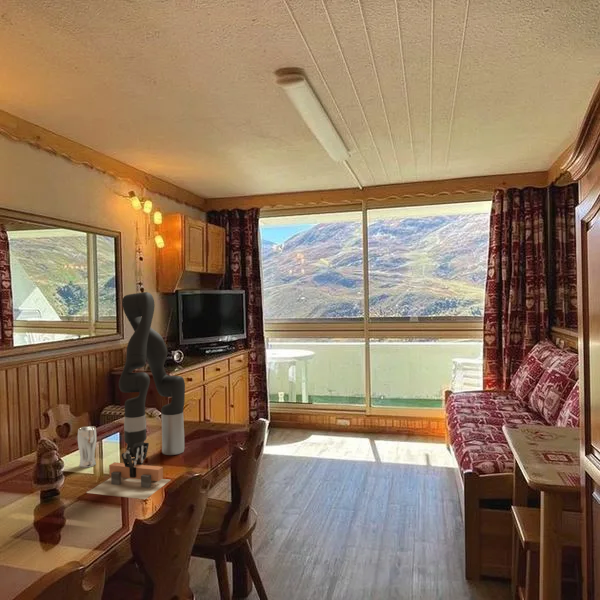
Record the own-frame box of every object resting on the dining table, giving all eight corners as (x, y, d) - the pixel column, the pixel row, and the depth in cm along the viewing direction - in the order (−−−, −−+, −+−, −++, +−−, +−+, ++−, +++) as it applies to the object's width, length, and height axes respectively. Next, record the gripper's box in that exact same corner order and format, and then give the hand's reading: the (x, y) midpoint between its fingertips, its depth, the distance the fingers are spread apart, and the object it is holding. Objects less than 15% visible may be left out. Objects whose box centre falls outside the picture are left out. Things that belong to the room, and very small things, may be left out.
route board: (116, 477, 178) (115, 463, 177) (171, 483, 172) (171, 468, 172) (85, 496, 161) (85, 481, 161) (145, 502, 156) (145, 487, 156)
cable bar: (114, 473, 174) (114, 462, 174) (163, 477, 169) (162, 466, 169) (109, 476, 172) (109, 465, 171) (158, 481, 167) (158, 469, 166)
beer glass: (76, 469, 187) (75, 431, 186) (79, 463, 193) (79, 426, 193) (95, 467, 188) (94, 430, 188) (98, 461, 195) (97, 425, 195)
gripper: (137, 422, 178) (138, 467, 178) (113, 432, 164) (114, 482, 165) (155, 423, 176) (155, 469, 176) (132, 434, 162) (133, 484, 163)
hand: (135, 475), depth 170 cm, fingers closed on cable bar, 3 cm apart
